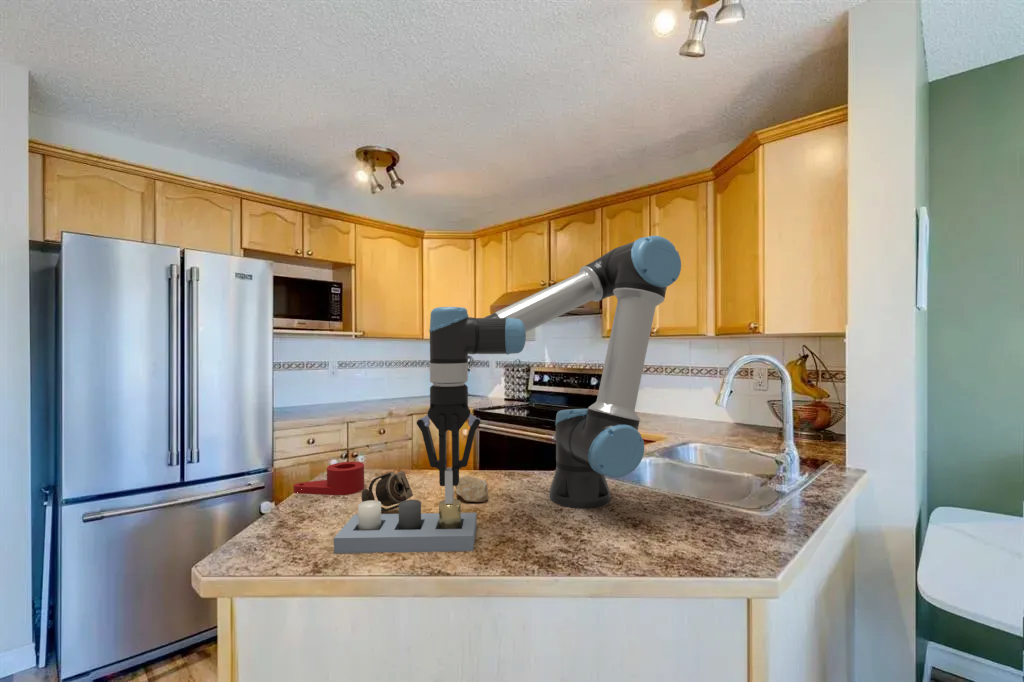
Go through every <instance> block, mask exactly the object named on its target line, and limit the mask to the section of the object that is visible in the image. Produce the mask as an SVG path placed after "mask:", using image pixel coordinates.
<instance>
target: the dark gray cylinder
mask: <svg viewBox="0 0 1024 682" xmlns="http://www.w3.org/2000/svg"><path fill="white" fill-rule="evenodd" d="M398 505H399V507H398V514H399V530H420V529H421V513H422V501H420V500H418V499H407V500H405V501H402V502H400V503H398Z"/></svg>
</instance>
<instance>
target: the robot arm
mask: <svg viewBox="0 0 1024 682" xmlns="http://www.w3.org/2000/svg"><path fill="white" fill-rule="evenodd" d="M681 271H682V261H681V256H680V253H679V251H678V250H676V247H675V245H674V244H673V242H671V241H670V240H669V239H667V238H665V237H663V236H660V235H649V236H643V237H639V238H638V239H636V240H634V241H632V242H629V243H626V244H624V245H621V246H618V247H615V248H613V249H611V250H609V251H608V252H606V253H605V254H603V255H602V256H600V257H598V258H597V259H595V260H593V261H590V263H588V264H586V265H583V266H582V267H580V269H579V270H578V273H576V274H574V275H572V276H570V277H567V278H565V279H563V280H561V281H559V282H557V283H554V284H552V285H551V286H549V287H546V288H543V289H542V290H540V291H538V292H535V293H533V294H532V295H529V296H527V297H525V298H523V299H520V300H519V301H516V302H514V303H512V304H511V305H508V306H506V307H504V308H503V307H502V308H501V309H499V310H497V311H495V312H493V313H492V314H489V315H487V316H485V317H472V316H471V317H470V316H469V314H468V310H467V308H466V307H462V306H438V307H435V308H432V310H431V312H430V317H429V318H430V321H429V329H428V330H429V358H430V359H429V382H430V383H431V384H432V385H431V386H430V387H429V409H428V410H427V414H426V415H424V416H423V417H420V418H419V419H417V421H416V425H417V427H418V428H419V430H420V431H421V435H422V438H423V443H424V447H425V450H426V455H427V459H428V462H429V467H431V468H435V469H437V470H438V472H439V478H438V479H439V486H440V487H444V500H445V504H453V500H454V499H455V495H454V494H455V486H458V483H459V478H460V469H462V468H466V467H467V466H468V462H469V459H470V454H471V450H472V447H473V443H474V437H475V434H476V431H477V429H478V427H479V426H480V424H481V422H482V420H481V418H480V417H478V416H477V417H476V416H475V415H473V414H472V413H471V410H470V408H469V407H470V406H469V398H468V397H469V395H468V394H469V393H468V391H469V388H468V386H467V384H466V383H467V382H468V381H469V378H468V377H469V376H468V373H469V372H468V369H469V368H468V363H469V361H468V357H469V356H468V355H510V354H512V355H514V354H519V353H521V352H522V351H524V348H525V345H526V339H527V338H526V337H527V334H526V333H528V332H529V331H530V332H531V331H532V330H534V329H535V328H538V327H540V326H541V325H544V324H546V323H549V322H551V321H552V320H554V319H556V318H558V317H560V316H562V315H564V314H566V313H568V312H571V311H573V310H575V309H577V308H579V307H581V306H583V305H585V304H587V303H589V302H591V301H592V302H595V303H596V302H597V303H598V302H600V301H602V300H604V299H607V298H609V297H612V296H615V298H616V300H617V302H616V308H615V312H614V316H613V322H612V327H611V330H610V337H609V340H608V345H607V350H606V355H605V360H604V363H603V370H602V375H601V378H600V383H599V389H598V392H597V398H596V401H595V402H594V403H592V404H591V405H590V406H588V408H574V409H573V408H571V409H561V410H558V411H557V413H556V416H555V423H554V425H555V460H556V461H555V463H556V467H555V472H554V475H553V479H552V482H551V485H550V487H549V488H550V489H549V500H550V501H551V503H554V504H556V505H558V506H561V507H564V508H571V509H579V510H580V509H587V510H588V509H596V508H601V507H604V506H606V505H608V504H610V502H611V492H610V488H609V485H608V482H607V479H606V477H610V478H615V479H616V478H622V477H625V476H627V475H629V474H631V473H632V472H633V471H635V470H636V469H637V468H638V467H639V465H640V463H641V462H642V461H643V457H644V454H645V442H644V439H643V438H642V434H641V432H639V426H640V425H639V424H640V421H641V420H640V417H639V415H638V414H637V412H636V410H635V409H636V405H637V399H638V395H639V391H640V387H641V381H642V376H643V370H644V367H645V366H644V365H645V361H646V356H647V351H648V346H649V341H650V336H651V332H652V326H653V321H654V317H655V312H656V308H657V306H659V305H660V304H662V303H663V302H665V299H666V298H665V297H666V292H667V288H668V287H669V286H671V285H673V284H674V283H675V282H676V281H677V280H678V278H679V276H680V274H681ZM467 420H468V424H467V425H468V426H469V430H468V433H467V438H466V443H465V445H464V446H465V447H464V449H463V454H462V459H460V429H461V428H462V427H463V426H464V424H465V423H466V422H467ZM431 422H432V423H433V425H434V426H435V428H436V429H437V430H438V456H437V453H436V449H435V445H434V441H433V440H434V439H433V436H432V431H431V429H430V427H429V426H430V425H431ZM448 431H451V459H452V460H451V466H450V467H447V464H448V463H447V462H448V461H447V455H448V453H447V449H448V448H447V447H448V446H447V432H448ZM437 457H438V458H437Z"/></svg>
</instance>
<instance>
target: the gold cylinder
mask: <svg viewBox="0 0 1024 682" xmlns="http://www.w3.org/2000/svg"><path fill="white" fill-rule="evenodd" d="M438 513H439V529H460V528H461V513H462V502H461V500H460V499H457V498H456V499H455V498H454V500H453V504H445V499H444V500H443V499H442V500H441V501H439V502H438Z"/></svg>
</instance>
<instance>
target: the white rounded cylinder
mask: <svg viewBox="0 0 1024 682" xmlns="http://www.w3.org/2000/svg"><path fill="white" fill-rule="evenodd" d="M381 507H382V504H381V502H380V501H378V500H376V499H375V500H369V501H364V502H362V501H361V502H360V503H358V505H357V510H358V511H357V514H358V531H360V530H380V529H381V514H382V511H381Z"/></svg>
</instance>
